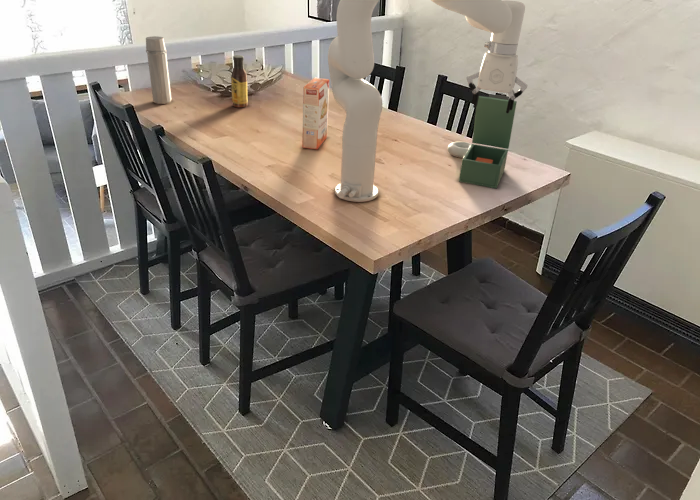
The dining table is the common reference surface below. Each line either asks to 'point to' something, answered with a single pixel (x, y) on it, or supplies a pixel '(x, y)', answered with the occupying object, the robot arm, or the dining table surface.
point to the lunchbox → (483, 166)
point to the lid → (493, 121)
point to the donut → (459, 148)
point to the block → (484, 160)
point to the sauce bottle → (239, 83)
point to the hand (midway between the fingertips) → (491, 109)
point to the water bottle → (158, 69)
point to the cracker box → (315, 113)
